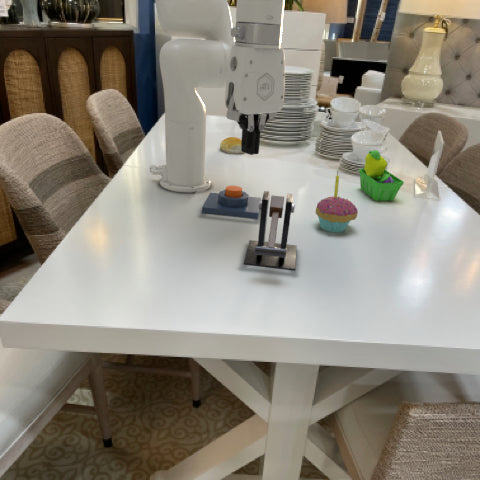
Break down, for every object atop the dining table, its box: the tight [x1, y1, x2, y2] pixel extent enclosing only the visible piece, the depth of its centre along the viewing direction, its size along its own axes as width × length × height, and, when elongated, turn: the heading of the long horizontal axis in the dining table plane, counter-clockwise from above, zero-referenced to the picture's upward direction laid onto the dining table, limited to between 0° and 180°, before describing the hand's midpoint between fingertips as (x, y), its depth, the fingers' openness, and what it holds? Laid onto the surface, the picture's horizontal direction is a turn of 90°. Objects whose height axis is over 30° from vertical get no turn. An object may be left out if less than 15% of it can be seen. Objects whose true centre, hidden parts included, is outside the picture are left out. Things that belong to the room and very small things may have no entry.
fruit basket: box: [358, 149, 405, 202], centre depth 119 cm, size 11×9×11 cm
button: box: [225, 185, 243, 198], centre depth 102 cm, size 4×4×2 cm
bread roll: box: [219, 136, 245, 155], centre depth 149 cm, size 8×9×4 cm
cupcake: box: [315, 171, 359, 233], centre depth 96 cm, size 9×8×12 cm
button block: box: [201, 189, 263, 220], centre depth 104 cm, size 12×10×4 cm
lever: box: [255, 195, 287, 258], centre depth 78 cm, size 12×5×2 cm, turn 173°
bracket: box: [243, 190, 298, 271], centre depth 83 cm, size 10×9×12 cm
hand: (249, 152), depth 87 cm, fingers closed
